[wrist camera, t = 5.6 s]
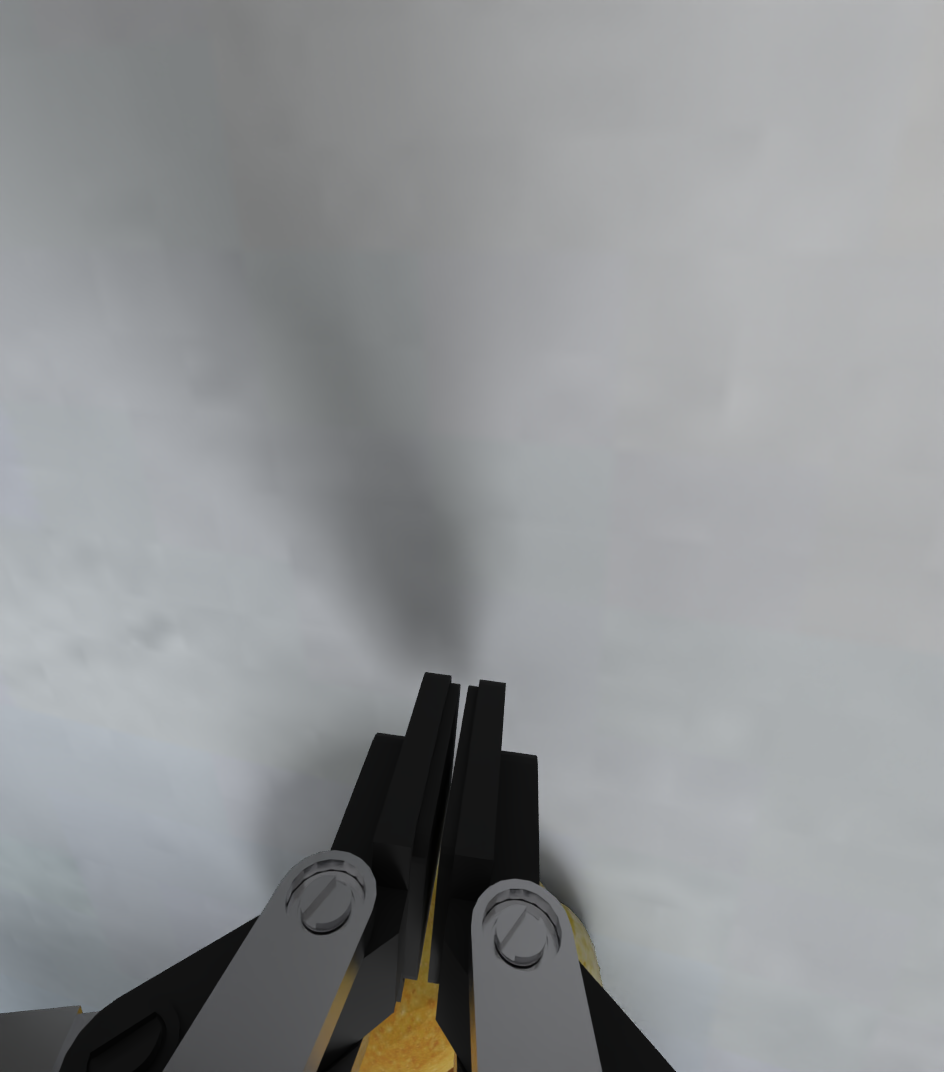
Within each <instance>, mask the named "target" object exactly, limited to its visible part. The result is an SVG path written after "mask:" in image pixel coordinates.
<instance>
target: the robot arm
mask: <svg viewBox="0 0 944 1072" xmlns="http://www.w3.org/2000/svg"><path fill="white" fill-rule="evenodd" d="M505 688H506V683H501V682H494V681H487V680H480V682H479V687H477V686H470V685H469V686H468V692H467V697H466V703H465V709H464V715H463V720H462V726H461V732H460V738H459V743H458V749H457V755H456V761H455V766H454V772H453V778H452V769H453V758H454V748H455V738H456V728H457V717H458V707H459V697H460V684H455V683H451V676H450V675H442V674H435V673H428V672H425V674H424V677H423V680H422V683H421V687H420V690H419V693H418V696H417V700H416V703H415V706H414V709H413V713H412V716H411V719H410V722H409V726H408V729H407V732H406V735H405V737H404V736H397V735H390V734H383V733H377V734H376V735H375V737H374V739H373V741H372V744H371V746H370V749H369V752H368V754H367V757H366V759H365V762H364V765H363V767H362V770H361V772H360V775H359V778H358V780H357V783H356V785H355V788H354V791H353V793H352V796H351V798H350V801H349V804H348V806H347V809H346V811H345V814H344V817H343V819H342V822H341V824H340V827H339V830H338V832H337V835H336V837H335V840H334V843H333V845H332V848H331V850H330V851H324V852H319V853H316V854H314V855H311V856H309V857H307V858H305V859H303V860H302V861H300V862H299V863H298V864H296V865H295V866H294V867H292V868H291V870H290V871H289V872H288V873H287V874H286V876H285V877H284V878H283V879H282V881H281V882H280V884H279V885H278V887H277V889H276V890H275V892H274V893H273V895H272V897H271V898H270V900H269V901H268V903H267V905H266V906H265V908H264V909H263V911H262V913H261V914H260V915H259V916H257V917H256V918H254V919H252V920H250V921H249V922H247V923H245V924H244V925H242V926H240V927H239V928H237V929H235V930H233V931H232V932H230V933H228V934H227V935H225V936H223V937H221V938H220V939H218V940H216V941H215V942H213V943H211V944H210V945H208V946H206V947H204V948H203V949H201V950H199V951H198V952H196V953H194V954H192V955H191V956H189V957H187V958H186V959H184V960H182V961H180V962H179V963H177V964H175V965H174V966H172V967H170V968H169V969H167V970H165V971H163V972H162V973H160V974H158V975H157V976H155V977H153V978H151V979H150V980H148V981H146V982H145V983H143V984H141V985H140V986H138V987H136V988H134V989H133V990H131V991H129V992H128V993H126V994H124V995H122V996H121V997H119V998H118V999H116V1000H115V1001H113V1002H112V1003H111V1004H109V1005H108V1006H107V1007H105V1008H104V1009H102V1010H101V1011H99V1012H90V1013H82V1009H81V1006H70V1007H60V1008H50V1009H40V1010H30V1011H20V1012H10V1013H0V1072H359V1069H360V1066H361V1063H362V1061H363V1058H364V1055H365V1052H366V1049H367V1046H368V1043H369V1038H370V1034H371V1031H372V1030H373V1029H374V1028H375V1027H377V1026H378V1025H379V1024H380V1023H382V1022H383V1021H384V1020H385V1019H386V1018H388V1017H389V1016H390V1015H391V1014H393V1013H394V1010H395V1005H396V1002H401V998H402V992H403V987H404V982H405V979H411V980H417V979H418V974H419V969H420V963H421V957H422V952H423V946H424V940H425V934H426V929H427V923H428V917H429V911H430V906H431V900H432V894H433V888H434V883H435V877H436V871H437V865H438V860H439V865H438V875H437V886H436V897H435V907H434V918H433V929H432V939H431V950H430V961H429V971H428V982H429V983H435V984H439V990H438V999H437V1009H436V1018H435V1020H436V1022H437V1023H438V1025H439V1026H440V1028H441V1030H442V1031H443V1033H444V1035H445V1036H446V1038H447V1040H448V1041H449V1043H450V1044H451V1046H452V1048H453V1049H454V1060H453V1063H454V1072H676V1071H675V1070H674V1069H673V1068H672V1067H671V1065H670V1064H669V1063H668V1062H667V1061H666V1060H665V1059H664V1057H663V1056H662V1055H661V1054H660V1053H659V1052H658V1051H657V1049H656V1048H655V1047H654V1046H653V1045H652V1044H651V1043H650V1041H649V1040H648V1039H647V1038H646V1037H645V1036H644V1035H643V1033H642V1032H641V1031H640V1030H639V1029H638V1028H637V1026H636V1025H635V1024H634V1023H633V1022H632V1021H631V1020H630V1018H629V1017H628V1016H627V1015H626V1014H625V1013H624V1012H623V1010H622V1009H621V1008H620V1007H619V1006H618V1005H617V1004H616V1002H615V1001H614V1000H613V999H612V998H611V997H610V996H609V994H608V993H607V992H606V991H605V990H604V989H603V988H602V986H601V985H600V984H599V983H598V982H597V981H596V980H595V978H594V977H593V976H592V975H591V974H590V973H589V971H588V970H587V969H586V968H585V967H584V966H583V965H582V963H581V962H580V961H579V960H578V955H577V950H576V945H575V941H574V936H573V931H572V927H571V924H570V921H569V919H568V916H567V913H566V911H565V910H564V908H563V907H562V905H561V904H560V902H559V901H558V900H557V898H556V897H555V896H553V895H552V894H551V893H550V892H549V891H547V890H546V889H545V888H544V887H542V886H540V875H539V814H538V761H537V756H536V755H529V754H522V753H515V752H508V751H501V746H502V731H503V717H504V703H505ZM451 779H452V783H451ZM450 788H451V789H450ZM440 848H441V849H440ZM439 854H440V856H439Z"/></svg>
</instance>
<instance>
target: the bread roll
mask: <svg viewBox="0 0 944 1072" xmlns="http://www.w3.org/2000/svg"><path fill="white" fill-rule="evenodd" d="M440 849H441V848H440ZM439 856H440V854H439ZM438 865H439V860H438ZM438 865H437V871H436V877H435V883H434V888H433V894H432V900H431V906H430V911H429V917H428V923H427V929H426V934H425V940H424V946H423V952H422V957H421V963H420V969H419V974H418V979H417V980H411V979H405V982H404V987H403V992H402V998H401V1002H396V1005H395V1010H394V1013H393V1014H391V1015H390V1016H389V1017H388V1018H386V1019H385V1020H384V1021H383V1022H382V1023H380V1024H379V1025H378V1026H377V1027H375V1028H374V1029H373V1030H372V1031H371V1034H370V1038H369V1043H368V1046H367V1049H366V1052H365V1055H364V1058H363V1061H362V1063H361V1066H360V1069H359V1072H454V1063H453V1060H454V1049H453V1048H452V1046H451V1044H450V1043H449V1041H448V1040H447V1038H446V1036H445V1035H444V1033H443V1031H442V1030H441V1028H440V1026H439V1025H438V1023H437V1022H436V1020H435V1018H436V1009H437V999H438V990H439V984H435V983H429V982H428V971H429V961H430V950H431V939H432V929H433V918H434V907H435V897H436V886H437V875H438ZM540 886H542V887H544V886H543V885H542V883H541V882H540ZM544 888H545V887H544ZM545 889H546V888H545ZM560 904H561V905H562V907H563V908H564V910H565V911H566V913H567V916H568V919H569V921H570V924H571V927H572V931H573V936H574V941H575V945H576V950H577V955H578V960H579V961H580V962H581V963H582V965H583V966H584V967H585V968H586V969H587V970H588V971H589V973H590V974H591V975H592V976H593V977H594V978H595V980H596V981H597V982H598V983H599V984H600V985H601V986H602V980H601V976H600V972H599V971H600V967H599V966H598V962H597V957H596V953H595V948H594V945H593V943H592V941H591V939H590V936H589V935H588V933H587V931H586V929H585V927H584V926H583V924H582V923H581V921H580V920H579V919H578V918H577V916H576V915H575V914H574V913H573V912H572V911H571V910H570V908H568V907H567V906H565V905H564V904H562V903H560Z"/></svg>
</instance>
